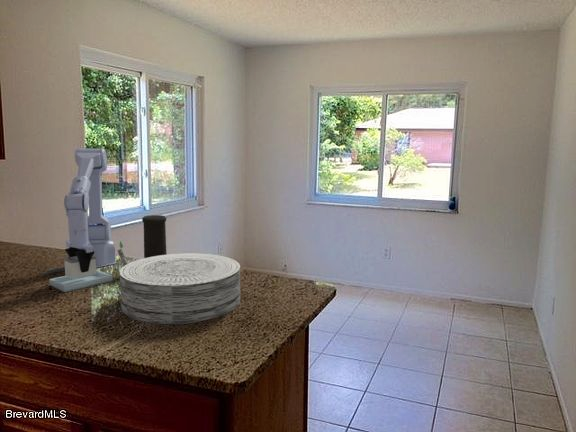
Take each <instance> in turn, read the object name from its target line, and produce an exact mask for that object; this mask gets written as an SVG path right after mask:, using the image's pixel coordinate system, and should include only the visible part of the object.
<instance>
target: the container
mask: <svg viewBox="0 0 576 432" xmlns="http://www.w3.org/2000/svg"><path fill="white" fill-rule="evenodd" d="M141 221H142V223H143V259H144V258H148V257H153V256H160V255H168V254H167V235H166V234H167V233H166V231H167V230H166V229H167V228H166V227H167V225H166V222H167V217H166V216H165V215H161V214H153V215H152V214H151V215H145V216H143V217H141Z"/></svg>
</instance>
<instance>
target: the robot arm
mask: <svg viewBox="0 0 576 432" xmlns="http://www.w3.org/2000/svg"><path fill="white" fill-rule="evenodd" d="M107 156H108V155H107V151H106V149H105V148H102V147H101V148H89V147H88V148H84V147H83V148H81V147H77V148H76V149H75V152H74V159H75V163H76V165H77V166H78V169H77V170H78V171H77V176H75V177H74V178H73V179H72V181H71V182H72V183H71V186H70V189H69V192H68V194H66V195H65V196H64V197H63V207H64V210H65V215H66V217H67V221H68V223H67V224H68V239H66V240H65V242H66V244H65V246H66V247H67V248H65V249H64V250H65V253H66V254H67V255H68V258H69V257H74V256H77V258H78V260H79V264H80V269H81V272H82V273H83V272H88V270H89V266H90V261H91V258H92V256H95V260H96V269H98V268H103V267H106V266H111V265H116V264H117V263H118V262H117V260H116V246H115V243H114V241H113V240H111V239H112V234H113V233H112V232H113V231H112V227H111V226H112V225H111V224H112V223H111V220H110V219H108V218H107V217H106V216H104V215H103V184H102V183H103V182H102V177H103V173H104V172H106V171H107V168H108V157H107Z"/></svg>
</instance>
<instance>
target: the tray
mask: <svg viewBox="0 0 576 432" xmlns="http://www.w3.org/2000/svg"><path fill="white" fill-rule="evenodd" d="M110 282H111V283H112V282H113V275H112V274H109V273H107V272H104V271H102V270H99V269H96V274H94V275H89V276H84V277H80V278H75V279H71V278H69V277H66V276H65V275H64V276H63V275H62V276H59V277H54V278H49V282H48V283H49V286H51V287H53V288H55V289H57V290H58V291H61V292H64V293H68V292H72V291H77V290H81V289H85V288H91V287H94V286H99V285H103V284H107V283H110Z"/></svg>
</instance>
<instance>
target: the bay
mask: <svg viewBox="0 0 576 432" xmlns="http://www.w3.org/2000/svg"><path fill="white" fill-rule="evenodd" d="M44 271H45V272H44V273H45V275H48V274H54V273H58V272H59V273H60V272H65V266H61V267H56V268H52V269H46V270H44Z"/></svg>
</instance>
